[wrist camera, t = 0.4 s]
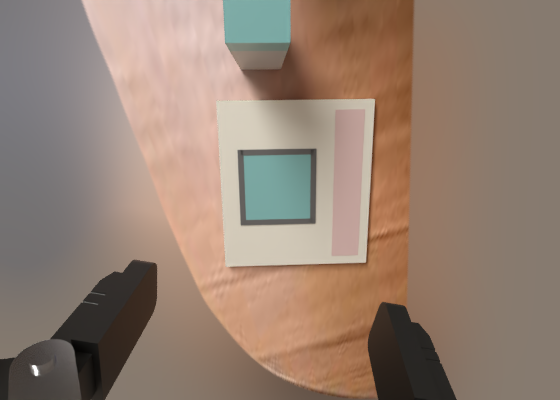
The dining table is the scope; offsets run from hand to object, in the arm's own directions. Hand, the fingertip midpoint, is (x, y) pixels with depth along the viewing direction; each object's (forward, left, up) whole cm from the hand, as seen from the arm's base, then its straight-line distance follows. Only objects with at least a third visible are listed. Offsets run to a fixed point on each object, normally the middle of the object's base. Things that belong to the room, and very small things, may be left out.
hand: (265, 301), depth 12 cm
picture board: (+1, +3, -26) cm, 26 cm away
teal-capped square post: (-13, 0, -26) cm, 29 cm away
